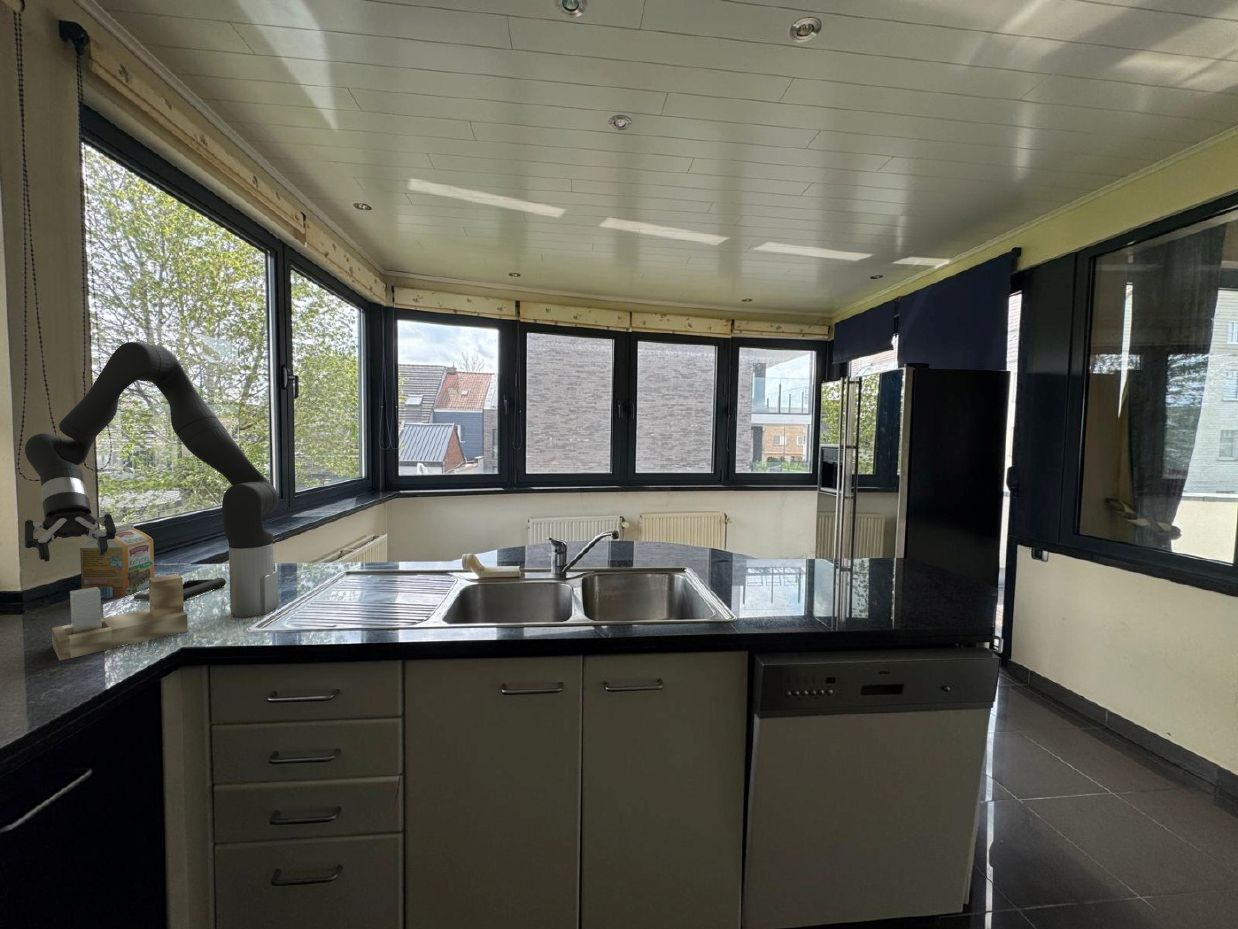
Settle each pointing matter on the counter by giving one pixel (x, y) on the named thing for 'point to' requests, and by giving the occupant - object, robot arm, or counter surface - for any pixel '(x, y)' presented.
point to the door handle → (193, 588)
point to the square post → (85, 610)
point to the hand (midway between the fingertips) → (75, 556)
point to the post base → (130, 622)
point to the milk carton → (119, 563)
